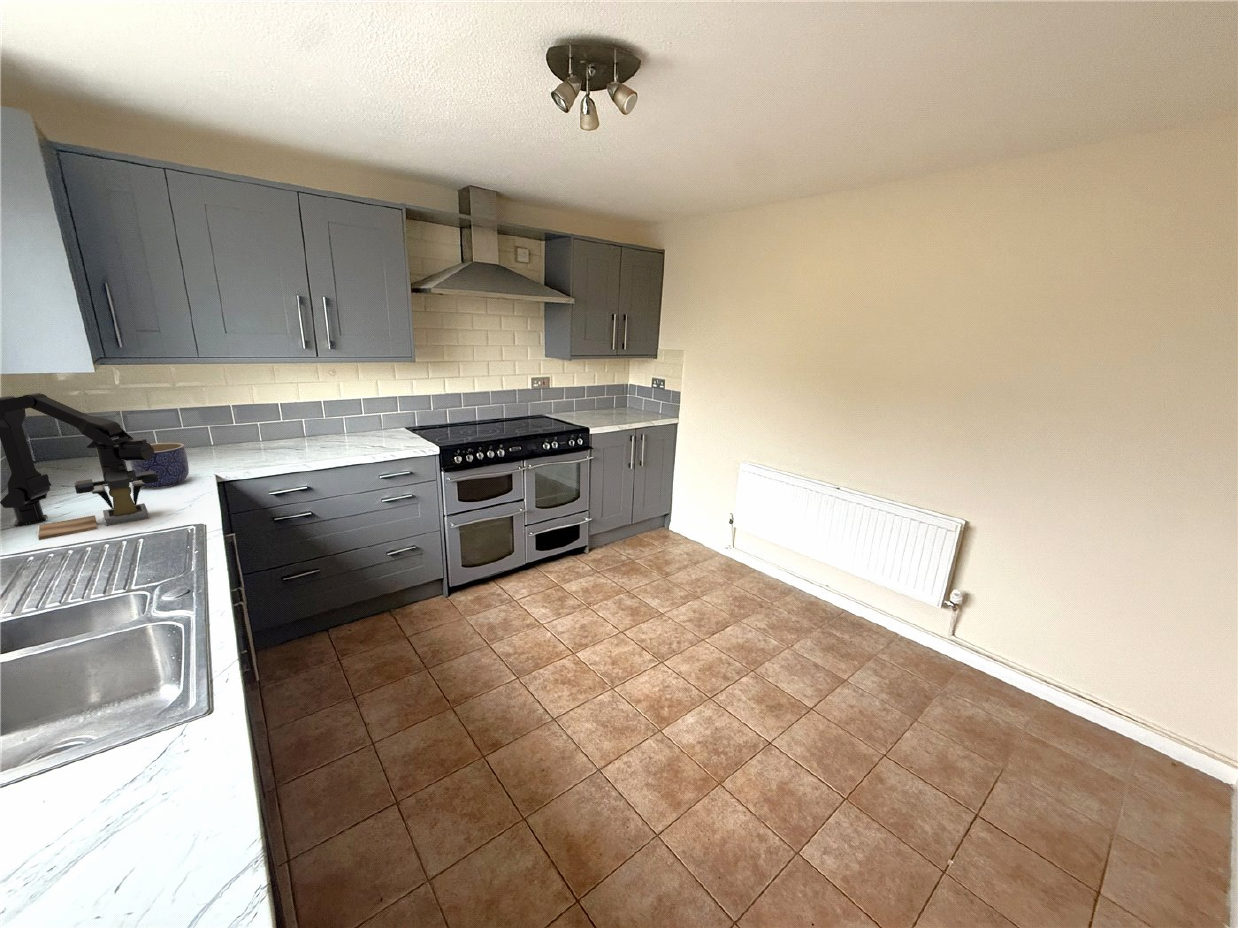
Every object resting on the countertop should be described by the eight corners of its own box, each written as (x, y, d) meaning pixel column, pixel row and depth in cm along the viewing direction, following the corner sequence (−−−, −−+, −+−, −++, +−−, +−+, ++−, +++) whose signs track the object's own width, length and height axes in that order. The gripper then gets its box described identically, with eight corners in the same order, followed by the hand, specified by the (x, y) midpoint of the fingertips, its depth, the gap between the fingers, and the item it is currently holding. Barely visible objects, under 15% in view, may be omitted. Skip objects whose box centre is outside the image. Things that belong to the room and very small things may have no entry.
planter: (126, 492, 184) (117, 454, 180) (148, 479, 199) (139, 443, 195) (182, 488, 190) (173, 451, 186) (198, 476, 205) (191, 441, 201)
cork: (109, 522, 159) (100, 489, 156) (121, 515, 164) (113, 483, 161) (132, 520, 160) (124, 488, 157) (144, 513, 166) (136, 483, 163)
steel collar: (104, 517, 162) (102, 510, 161) (146, 509, 169) (144, 503, 168) (106, 526, 155) (104, 519, 155) (149, 518, 163) (147, 511, 162)
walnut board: (40, 527, 153) (39, 524, 152) (95, 518, 161) (95, 515, 161) (39, 540, 145) (38, 536, 145) (97, 529, 153) (96, 526, 153)
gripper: (69, 472, 145) (83, 520, 149) (155, 461, 158) (165, 506, 163) (69, 463, 152) (82, 510, 156) (150, 454, 165) (161, 497, 170)
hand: (124, 506), depth 161 cm, fingers open, 5 cm apart
